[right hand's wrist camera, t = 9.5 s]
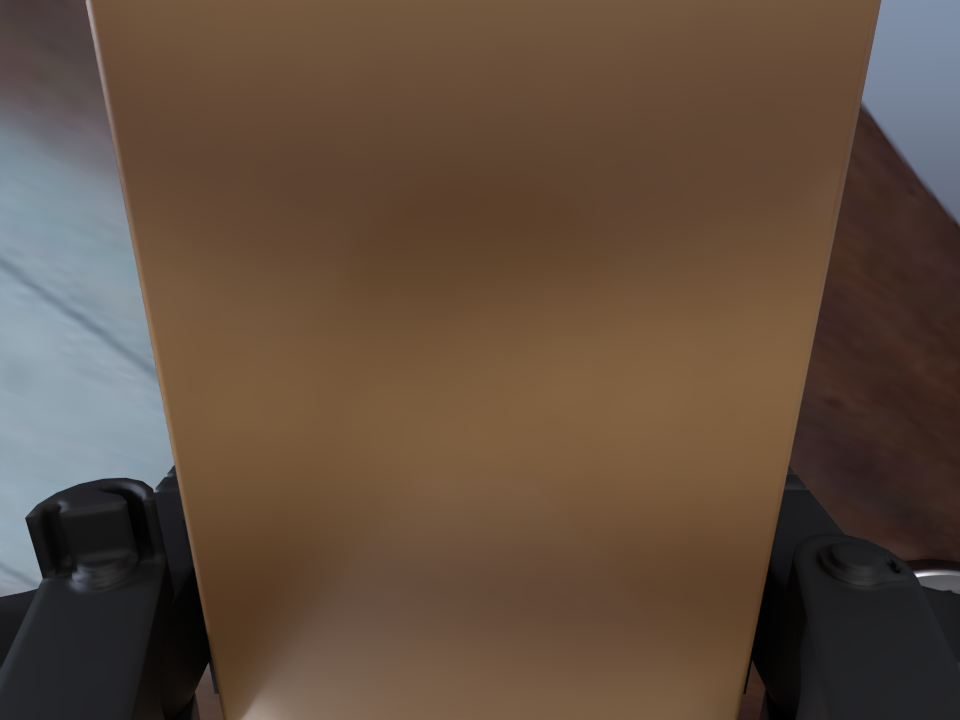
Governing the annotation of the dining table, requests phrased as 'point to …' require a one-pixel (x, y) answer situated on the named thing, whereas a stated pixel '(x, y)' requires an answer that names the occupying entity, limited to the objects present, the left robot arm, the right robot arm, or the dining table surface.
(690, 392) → the bar
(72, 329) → the dining table surface
